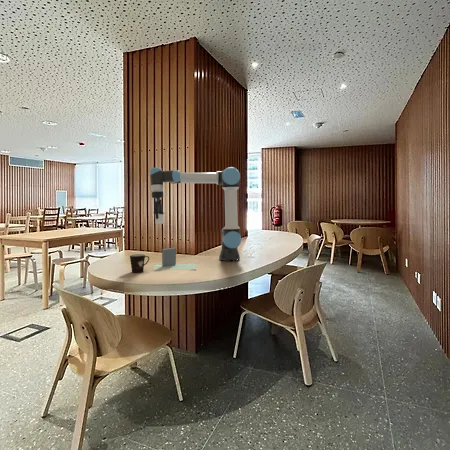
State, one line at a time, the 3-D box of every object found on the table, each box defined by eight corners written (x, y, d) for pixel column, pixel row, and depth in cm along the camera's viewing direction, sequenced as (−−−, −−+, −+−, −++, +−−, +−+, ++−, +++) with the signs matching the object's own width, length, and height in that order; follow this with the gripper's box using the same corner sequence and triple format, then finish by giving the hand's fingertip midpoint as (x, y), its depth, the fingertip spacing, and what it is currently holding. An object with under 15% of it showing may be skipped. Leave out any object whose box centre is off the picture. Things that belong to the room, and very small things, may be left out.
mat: (195, 264, 207) (195, 263, 207) (196, 270, 189) (196, 269, 189) (155, 265, 204) (155, 264, 204) (152, 271, 186) (152, 270, 186)
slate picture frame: (161, 266, 198) (161, 249, 197) (173, 264, 204) (173, 247, 204) (164, 266, 196) (164, 249, 195) (175, 264, 202) (175, 248, 202)
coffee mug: (130, 273, 178) (130, 256, 178) (129, 271, 186) (129, 254, 186) (151, 272, 183) (151, 255, 182) (149, 269, 191) (149, 253, 190)
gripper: (155, 193, 218) (157, 224, 218) (147, 190, 193) (150, 224, 193) (165, 193, 218) (168, 223, 218) (159, 189, 193) (162, 223, 193)
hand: (159, 223), depth 206 cm, fingers open, 13 cm apart
